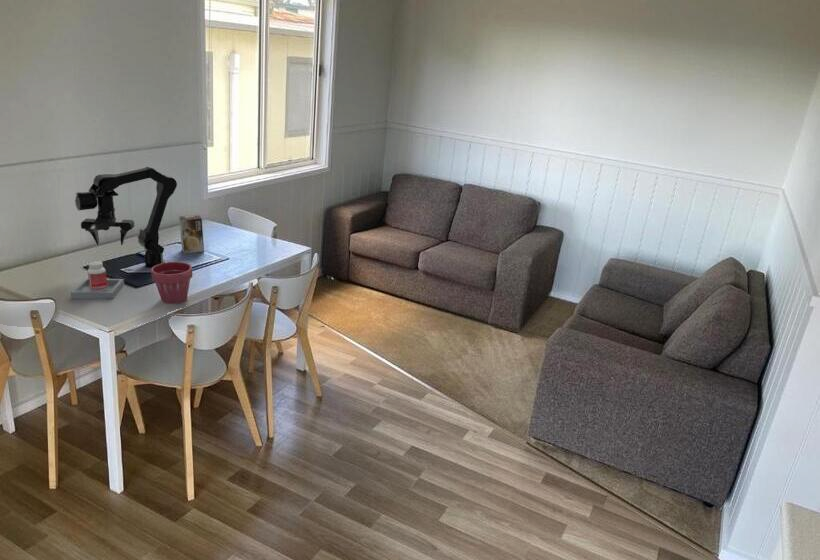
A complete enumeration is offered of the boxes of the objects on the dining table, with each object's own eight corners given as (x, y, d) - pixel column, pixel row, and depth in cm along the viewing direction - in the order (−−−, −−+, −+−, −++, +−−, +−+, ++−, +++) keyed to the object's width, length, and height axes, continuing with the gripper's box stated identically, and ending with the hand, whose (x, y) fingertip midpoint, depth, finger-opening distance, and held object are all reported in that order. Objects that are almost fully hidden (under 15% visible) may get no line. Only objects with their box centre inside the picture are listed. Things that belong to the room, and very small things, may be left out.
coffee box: (201, 247, 291) (199, 214, 286) (204, 252, 286) (202, 218, 280) (181, 249, 287) (179, 216, 282) (183, 253, 282) (181, 219, 276)
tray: (124, 284, 244) (123, 279, 243) (112, 299, 230) (112, 292, 229) (85, 284, 242) (84, 278, 241) (71, 298, 228) (70, 292, 227)
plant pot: (145, 302, 229) (142, 270, 225) (170, 290, 242) (168, 259, 237) (177, 309, 225) (175, 276, 221) (201, 296, 238) (199, 265, 233)
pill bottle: (111, 289, 237) (108, 262, 233) (96, 294, 232) (93, 266, 228) (101, 285, 240) (97, 259, 236) (86, 290, 235) (82, 263, 231)
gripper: (73, 211, 237) (78, 250, 242) (124, 213, 239) (128, 251, 245) (83, 204, 247) (88, 241, 252) (133, 206, 250) (136, 243, 255)
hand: (110, 244), depth 251 cm, fingers open, 9 cm apart
